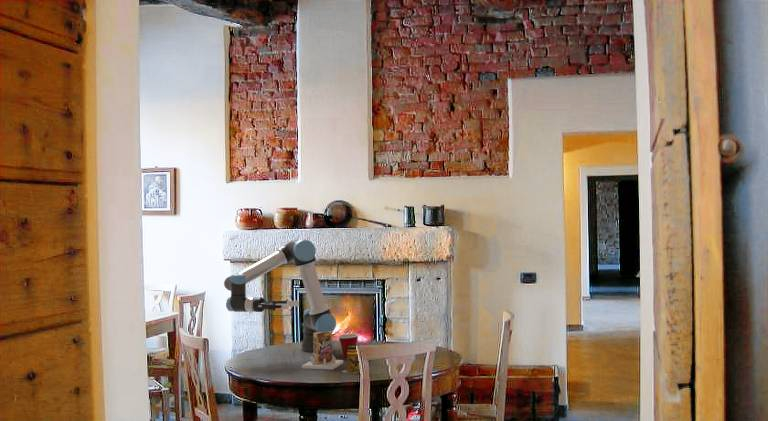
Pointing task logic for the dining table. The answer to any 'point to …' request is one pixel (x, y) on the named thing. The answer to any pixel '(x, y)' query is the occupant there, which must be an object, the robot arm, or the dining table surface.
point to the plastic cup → (347, 342)
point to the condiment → (352, 360)
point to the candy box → (322, 346)
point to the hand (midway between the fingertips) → (293, 305)
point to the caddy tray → (322, 364)
